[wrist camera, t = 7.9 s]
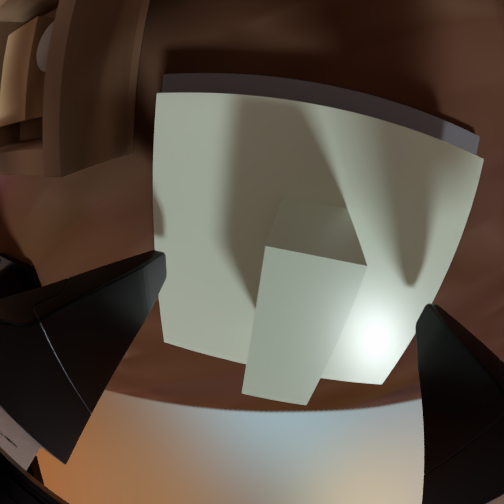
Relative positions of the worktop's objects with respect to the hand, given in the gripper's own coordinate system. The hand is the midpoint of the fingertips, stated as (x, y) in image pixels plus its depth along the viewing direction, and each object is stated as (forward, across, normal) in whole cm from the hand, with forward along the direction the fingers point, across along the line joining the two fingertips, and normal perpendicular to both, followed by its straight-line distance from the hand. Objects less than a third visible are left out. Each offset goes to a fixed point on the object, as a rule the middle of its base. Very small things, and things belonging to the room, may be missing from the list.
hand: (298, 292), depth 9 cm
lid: (+3, 0, 0) cm, 3 cm away
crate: (+4, +13, -8) cm, 16 cm away
